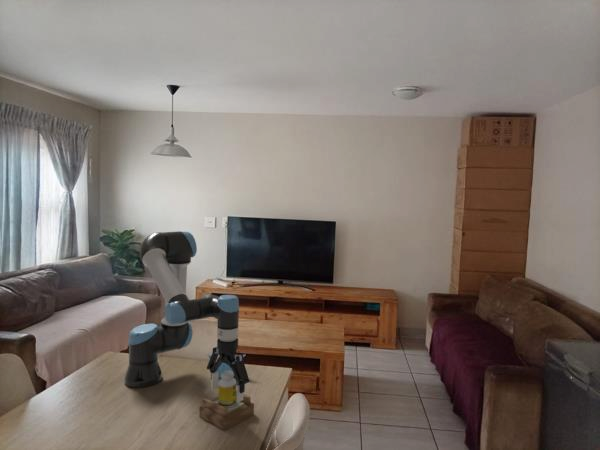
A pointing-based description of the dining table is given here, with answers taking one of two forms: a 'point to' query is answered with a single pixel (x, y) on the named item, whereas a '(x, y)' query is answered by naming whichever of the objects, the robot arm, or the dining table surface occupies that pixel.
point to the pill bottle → (227, 389)
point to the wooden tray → (226, 412)
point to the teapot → (223, 368)
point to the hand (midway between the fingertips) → (227, 394)
